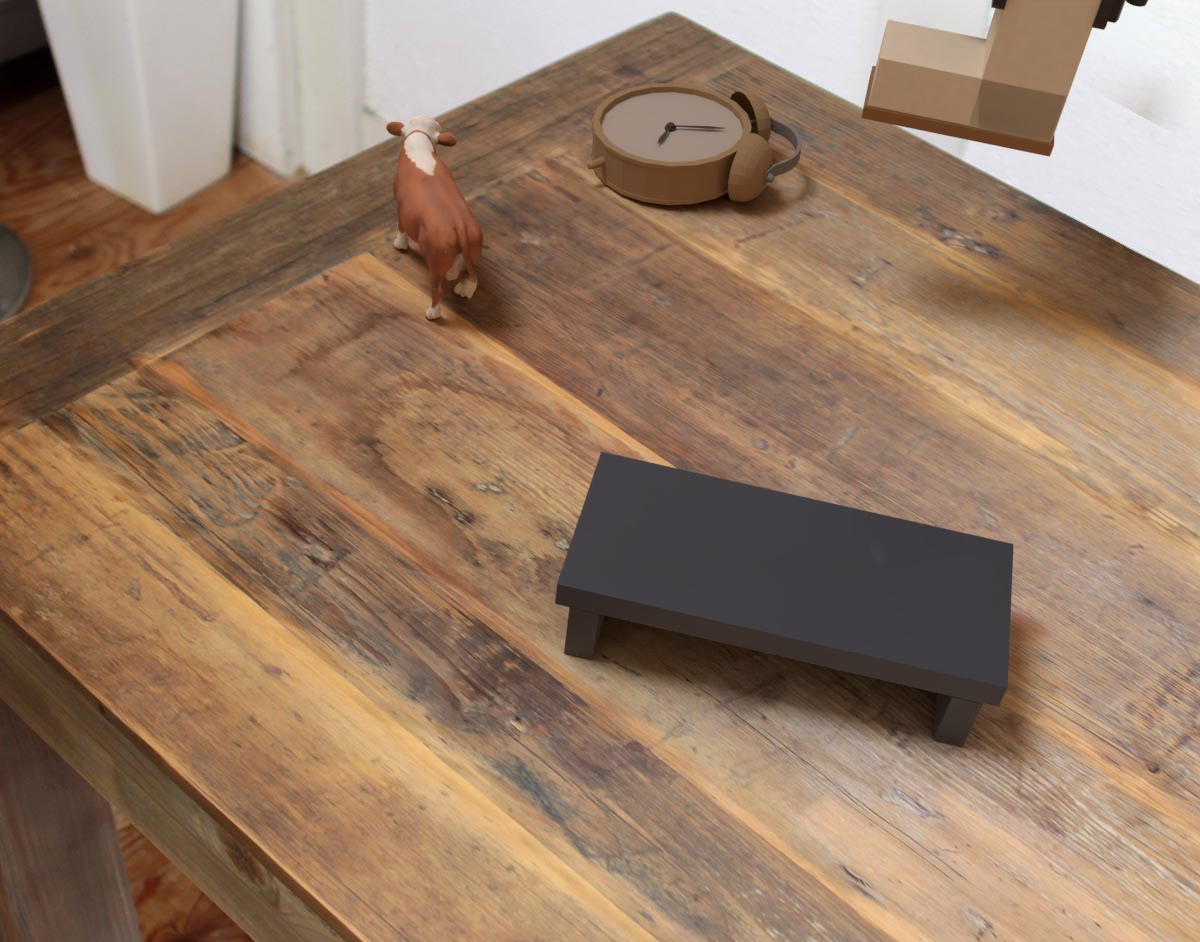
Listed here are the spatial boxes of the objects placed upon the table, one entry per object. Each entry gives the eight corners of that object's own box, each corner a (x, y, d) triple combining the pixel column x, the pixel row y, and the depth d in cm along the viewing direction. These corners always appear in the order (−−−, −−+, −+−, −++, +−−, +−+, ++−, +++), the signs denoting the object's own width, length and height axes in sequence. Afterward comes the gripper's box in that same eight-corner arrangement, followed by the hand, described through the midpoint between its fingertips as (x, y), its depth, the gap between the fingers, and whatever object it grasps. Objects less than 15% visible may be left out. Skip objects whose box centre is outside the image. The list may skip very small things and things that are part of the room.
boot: (1051, 114, 92) (1114, -64, 83) (1049, 157, 88) (1115, -24, 80) (869, 77, 92) (914, -102, 84) (861, 118, 89) (906, -65, 81)
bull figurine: (443, 207, 101) (446, 97, 95) (487, 330, 92) (493, 217, 86) (379, 212, 100) (378, 100, 94) (418, 336, 91) (419, 223, 85)
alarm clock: (592, 79, 108) (799, 69, 107) (597, 140, 112) (797, 131, 110) (583, 162, 101) (806, 152, 99) (589, 225, 104) (804, 216, 103)
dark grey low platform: (985, 607, 80) (1014, 543, 77) (977, 750, 74) (1007, 688, 70) (592, 517, 82) (601, 450, 78) (549, 650, 75) (556, 583, 72)
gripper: (961, -202, 91) (943, -91, 79) (1196, -158, 90) (1211, -40, 78) (929, -79, 96) (908, 41, 85) (1150, -36, 95) (1158, 91, 84)
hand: (1054, 2), depth 82 cm, fingers closed on boot, 5 cm apart
